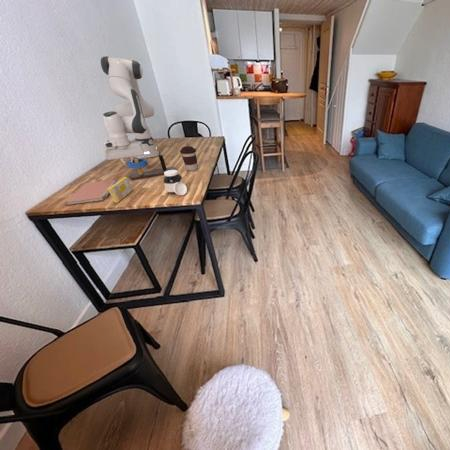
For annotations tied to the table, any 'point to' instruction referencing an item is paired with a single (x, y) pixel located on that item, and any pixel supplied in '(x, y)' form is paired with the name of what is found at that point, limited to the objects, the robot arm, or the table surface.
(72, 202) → the notebook
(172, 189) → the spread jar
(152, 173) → the peg rack
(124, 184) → the candy box
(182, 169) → the table surface
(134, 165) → the tape roll
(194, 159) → the coffee cup
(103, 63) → the robot arm
